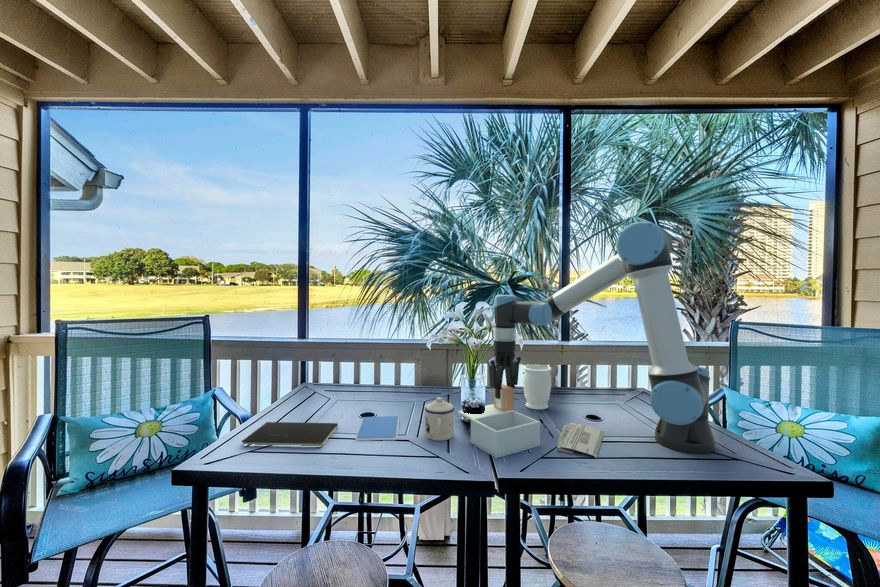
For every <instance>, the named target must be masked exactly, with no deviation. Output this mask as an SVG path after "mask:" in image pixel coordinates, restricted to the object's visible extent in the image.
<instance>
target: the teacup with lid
mask: <svg viewBox="0 0 880 587" xmlns="http://www.w3.org/2000/svg"><path fill="white" fill-rule="evenodd" d="M424 411H425V412H424V413H425V414H424V416H425V417H424V418H425V419H424V420H425V421H424V422H425V424H424V425H425V426H424V428H425V429H424V430H425V431H424V432H425V433H424V435H425V438H427V439H429V440H432V441H437V442H439V441H440V442H441V441H447V440H451V439H452V438H453V437H454V411H455V407H454V405H453V404H452V403H451V402H450V403H449V402H447V401H445V400H444V399H443V397H440V396H439V397H436V399H435V400H433V401H432V402H430V403H426V404H425V406H424Z"/></svg>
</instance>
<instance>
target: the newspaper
mask: <svg viewBox="0 0 880 587" xmlns="http://www.w3.org/2000/svg"><path fill="white" fill-rule="evenodd" d="M604 434H605V430H603V429H601V428H597V427H594V426H590V425H586V424H582V423H575V422H570V423H569V425H568V424H563V428H562V430H561V433H560V434H559V438H558V441H557V447H556V450H557V451H559V452H564V453H568V454H575V451H577V452H581V453H583V454H587V455H590V456H593V457H594V458H595V459H598V455H599V451H600V448H601V446H602V442H603V439H602V438H603V437H604ZM573 450H574V451H573ZM573 452H574V453H573Z"/></svg>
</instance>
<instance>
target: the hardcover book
mask: <svg viewBox="0 0 880 587" xmlns="http://www.w3.org/2000/svg"><path fill="white" fill-rule="evenodd" d="M338 426H339V425H338V422H292V421H291V422H289V421H288V422H287V421H286V422H285V421H283V422H282V421H277V422H276V421H267V422H265V423H263V424H262V425H261V426H259V427H258V428H257V429H256V430H254V431H253V432H252V433H250V434H249V435H248V436H247V437H244V439H242V440H241V443H242V444H243V445H244V444H251V445H252V444H255V445H301V446H322V445H323V444H324V442H325V441H326V440H327V439H328V438H329V439H330V437H331V436H332V435H333V434H334V432H335V431H336V430H337V429H338V428H339V427H338ZM337 427H338V428H337ZM336 428H337V429H336ZM335 429H336V430H335ZM334 430H335V431H334ZM333 431H334V432H333ZM332 433H333V434H332ZM331 434H332V435H331ZM330 435H331V436H330ZM329 436H330V437H329ZM329 439H328V440H329ZM328 440H327V441H328ZM327 441H326V442H327ZM324 445H325V444H324ZM324 445H323V446H324ZM323 446H322V447H323Z"/></svg>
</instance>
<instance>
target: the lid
mask: <svg viewBox="0 0 880 587" xmlns="http://www.w3.org/2000/svg"><path fill="white" fill-rule="evenodd" d="M501 389H503V409H501V408H498V407H496V398H495V388H493V404H488V405H484V406H485V411H484V413H482V414H470V413H469V414H468V413H464V412H463V411H462V410H463V409H462V410H461V409H460V410H458V411H457V413H458V414H459V415H461V416H462V417H464V418H466V419H468V420H470V421H471V419H473V418H478V417H483V416H487V415H492V414H497V413H501V412H506V411H511V410H513V411H515V410H514V409H515V407H514V406H515V405H514V404H515V400H514V399H515V388H512V387H509V386H507V384H506V385H505V384H503V383H502V387H501Z"/></svg>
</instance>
